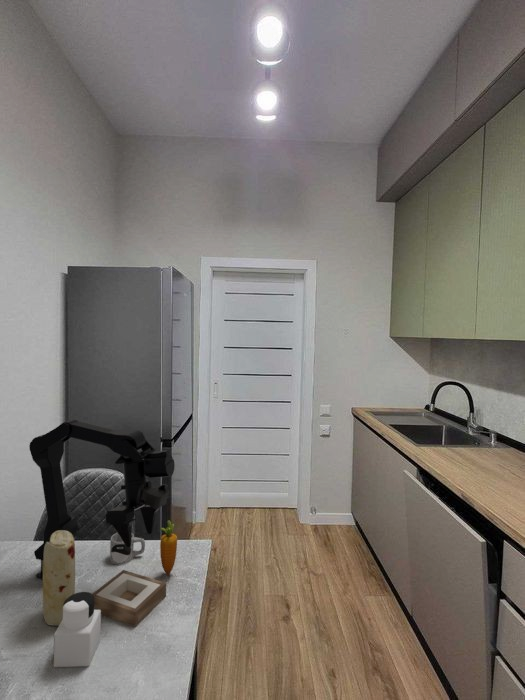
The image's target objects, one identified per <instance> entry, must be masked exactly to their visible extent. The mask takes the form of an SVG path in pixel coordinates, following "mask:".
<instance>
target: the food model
mask: <svg viewBox="0 0 525 700" xmlns="http://www.w3.org/2000/svg"><path fill="white" fill-rule="evenodd" d="M75 543H76V542H75V540H74V538H73V536H72V534H71V533H70V532H69V531H65V530H58V531H55V532H54V533H53V534H52V535H51V537H50V542H46V544H45V546H44V560H43V579H42V611H43V612H42V613H43V618H44V620H45V623H46V624H47V625H49V626H57V627H59V625H60V623H61V622H62V620H63V603H64V602H65V600H66V599H67V598H68V597H69V596H71V595H73V594H75V593H76V592H75V589H76V547H75V546H76V545H75Z"/></svg>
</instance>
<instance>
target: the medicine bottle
mask: <svg viewBox="0 0 525 700" xmlns="http://www.w3.org/2000/svg"><path fill="white" fill-rule="evenodd" d="M92 594H93V593H91V592H88V591H81V592H74V594H73V595H71V596H69V597H68V598H67V599H66V600H65V602H64V603H63V620H62V622H61V623H60V625H59V626H57V629H56V630H55V632H54V634H53V667H54V668H73V667H75V668H78V667H90V665H91V662H92V661H93V658H94V656H95V653H96V650H97V649H98V646H99V644H100V641H101V625H102V623H101V622H102V621H101V620H102V618H101V617H102V615H101V610H94V596H93V595H92Z"/></svg>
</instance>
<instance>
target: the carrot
mask: <svg viewBox="0 0 525 700" xmlns="http://www.w3.org/2000/svg"><path fill="white" fill-rule="evenodd" d="M166 523H167V527H165V528H164V527H161V528H160V531H162V532H163V533H165V534H163V535H161V536H160V542H159V543H160V552H159V553H160V560H161V567H162V569H163V571H164V573H165V574H166V575H167V576H168V575H169V576H170V574H171V572H172V570H173V568H174V567H175V561H176V558H177V551H178V550H177V549H178V536H177V535H176V534H175V533H173V531H174V528H175V524H174V523H172V522H171V520H167V521H166Z"/></svg>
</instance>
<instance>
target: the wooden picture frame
mask: <svg viewBox="0 0 525 700" xmlns="http://www.w3.org/2000/svg"><path fill="white" fill-rule="evenodd" d="M159 586H160V584H157V583H154V582H151V581H147V580H144V579H141V578H138V577H135V576H131V575H128V574H125V573H123V574H122V575H121V576H119V577H118V578H117V579H116V580H114V581H113V582H112V583H110V584H109V585H108V586H107V587H105V588H104V589H103V590H101V591H100V592H99V593H98V594H96V595H98V596H101V597H104V598H106V599H109V600H112V601H115V602H118V603H121V604H124V605H126V606H129V607H132V608H136V607H137V606H138V605H139V604H140V603H142V602H143V601H144V600H145V599H146V598H147V597H148V596H149V595H150V594H151V593H152V592H153V591H154V590H155V589H156V588H157V587H159ZM127 590H128V591H131V592H134V593H137V594H138V595H137V596H136V597H135V598H134V599H133V600H132V601H128V600H125V599H122V598H120V596H121V595H122V594H123V593H125V592H126V591H127Z"/></svg>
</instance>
